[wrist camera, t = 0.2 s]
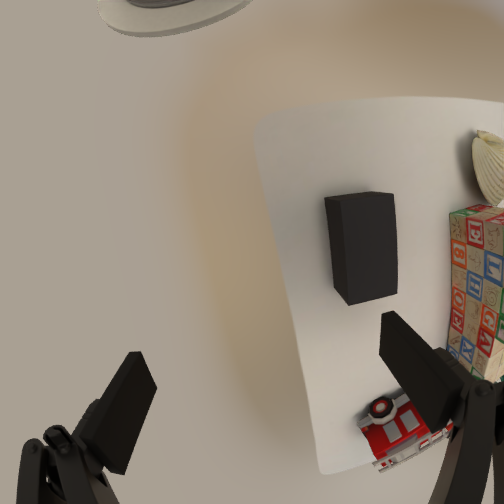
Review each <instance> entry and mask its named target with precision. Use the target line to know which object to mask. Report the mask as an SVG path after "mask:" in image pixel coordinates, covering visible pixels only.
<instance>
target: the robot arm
mask: <svg viewBox="0 0 504 504" xmlns="http://www.w3.org/2000/svg"><path fill="white" fill-rule="evenodd" d="M126 1H127V2H128V3H130V4H132V5H134V6H137V7H141V8H150V9H155V8H166V7H172V6H177V5H182V4H185V3H189V2H192V1H195V0H126ZM379 355H380V357H381V358H382V360H383V361H384V362H385V364H386V365H387V367H388V368H389V370H390V371H391V373H392V374H393V376H394V377H395V378H396V380H397V381H398V383H399V384H400V386H401V387H402V389H403V390H404V392H405V393H406V395H407V396H408V398H409V399H410V401H411V402H412V404H413V405H414V407H415V408H416V410H417V412H418V413H419V415H420V416H421V418H422V419H423V421H424V422H425V424H426V426H427V427H428V429H429V430H430V432H431V434H434V433H436V432H438V431H440V430H442V429H444V428H446V426H447V424H448V422H449V420H450V419H451V421H452V422H453V426H452V428H451V430H450V432H449V434H448V436H447V438H449V437H450V438H449V442H448V446H447V450H446V454H445V458H444V461H443V464H442V467H441V470H440V473H439V476H438V480H437V482H436V485H435V488H434V490H433V493H432V496H431V498H430V500H429V503H428V504H481V502H482V498H483V495H484V490H485V487H486V482H487V478H488V473H489V467H490V462H491V455H492V457H493V470H494V504H504V381H502V382H499V383H495V384H493V383H492V382H490V381H489V380H485V379H480V380H477V379H476V378H475V377H474V376H473V375H472V374H471V373H470V372H469V371H468V370H467V369H466V368H465V367H464V366H463V365H462V364H461V363H459V361H458V360H457V359H456V358H455V357H454V356H453V355H452V354H451V353H450V352H449V351H447V350H445V349H443V348H440V347H439V348H437V349H434V350H433V349H432V348H431V347H430V346H429V345H428V344H427V343H426V342H425V341H424V340H423V339H422V338H421V337H420V336H419V335H418V334H417V333H416V332H415V331H414V330H413V329H412V328H411V327H410V326H409V325H408V324H407V323H406V322H405V321H404V320H403V319H402V318H401V317H400V316H399V315H398V314H397V313H396V312H395V311H390V312H386V313H383V314H381V334H380V348H379ZM156 390H157V386H156V384H155V382H154V380H153V378H152V376H151V373H150V371H149V369H148V367H147V364H146V362H145V360H144V358H143V355H142V353H141V352H140V351H138V352H129V354H128V355H127V356H126V358H125V360H124V361H123V363H122V364H121V366H120V367H119V369H118V371H117V372H116V374H115V375H114V377H113V379H112V380H111V382H110V384H109V385H108V387H107V388H106V390H105V392H104V393H103V395H102V397H101V398H100V399H96V400H95V401H93V403H91V404H90V405H89V407H88V408H87V410H86V413H84V415H83V416H82V419H81V420H80V421H79V423H78V425H77V427H76V428H75V430H74V431H73V433H72V435H70V434H69V433H68V431H67V430H66V429H65V427H63V426H62V425H53V426H51V427H49V428H48V429H47V430H46V431H45V433H44V434H43V439H44V440H45V442H46V443H47V444H48V445H49V446H44V444H43V443H42V442H41V441H40V440H38V439H35V438H33V439H30V440H28V441H27V442H26V443H25V444H24V446H23V449H22V455H21V461H20V468H19V476H18V486H17V499H16V504H119V502H118V500H117V498H116V496H115V494H114V492H113V490H112V488H111V486H110V484H109V482H108V479H107V478H106V475H105V474H104V472H103V471H102V470H103V467H104V466H105V467H106V468H107V469H108V470H109V471H110V472H111V473H116V474H120V475H125V472H126V469H127V466H128V463H129V461H130V458H131V455H132V452H133V450H134V447H135V444H136V441H137V439H138V436H139V433H140V431H141V428H142V426H143V423H144V420H145V418H146V415H147V413H148V410H149V408H150V405H151V403H152V400H153V398H154V395H155V393H156ZM46 477H47V478H48V482H46Z"/></svg>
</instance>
